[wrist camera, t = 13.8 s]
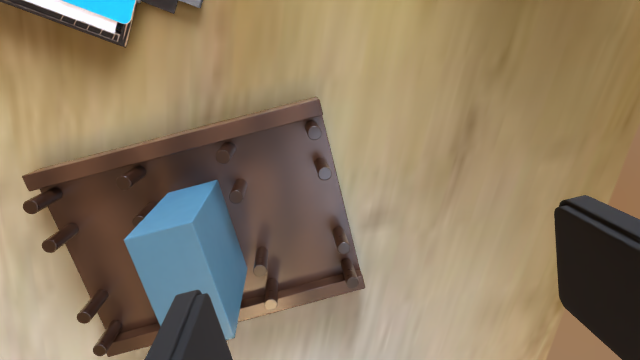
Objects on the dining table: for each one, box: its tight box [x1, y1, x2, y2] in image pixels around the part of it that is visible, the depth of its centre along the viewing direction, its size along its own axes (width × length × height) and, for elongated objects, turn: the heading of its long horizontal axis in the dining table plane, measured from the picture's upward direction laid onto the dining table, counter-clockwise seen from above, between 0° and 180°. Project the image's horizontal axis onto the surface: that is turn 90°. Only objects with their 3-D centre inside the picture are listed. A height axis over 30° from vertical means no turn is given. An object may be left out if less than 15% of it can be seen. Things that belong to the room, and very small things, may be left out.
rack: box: [22, 97, 365, 357], centre depth 31 cm, size 22×16×4 cm
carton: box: [124, 180, 247, 340], centre depth 28 cm, size 8×4×9 cm, turn 14°
